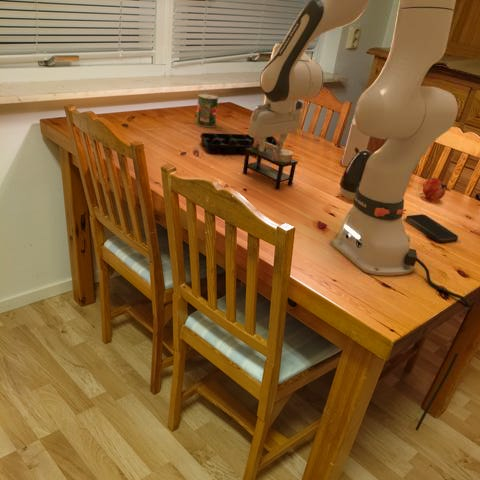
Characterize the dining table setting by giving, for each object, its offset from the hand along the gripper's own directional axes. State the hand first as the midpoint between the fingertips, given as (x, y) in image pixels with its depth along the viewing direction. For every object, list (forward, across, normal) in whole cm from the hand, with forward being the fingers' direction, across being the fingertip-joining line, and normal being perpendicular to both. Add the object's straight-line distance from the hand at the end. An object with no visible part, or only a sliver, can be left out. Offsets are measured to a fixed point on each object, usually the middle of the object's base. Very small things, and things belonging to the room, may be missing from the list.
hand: (270, 149), depth 152 cm
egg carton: (+10, +13, +24) cm, 29 cm away
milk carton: (+10, +41, -6) cm, 43 cm away
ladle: (+2, 0, 0) cm, 2 cm away
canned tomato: (+10, +21, +53) cm, 58 cm away
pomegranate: (+10, +39, -39) cm, 57 cm away
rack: (+10, 0, 0) cm, 10 cm away
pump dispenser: (+10, +14, -25) cm, 30 cm away
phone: (+10, +16, -51) cm, 55 cm away
